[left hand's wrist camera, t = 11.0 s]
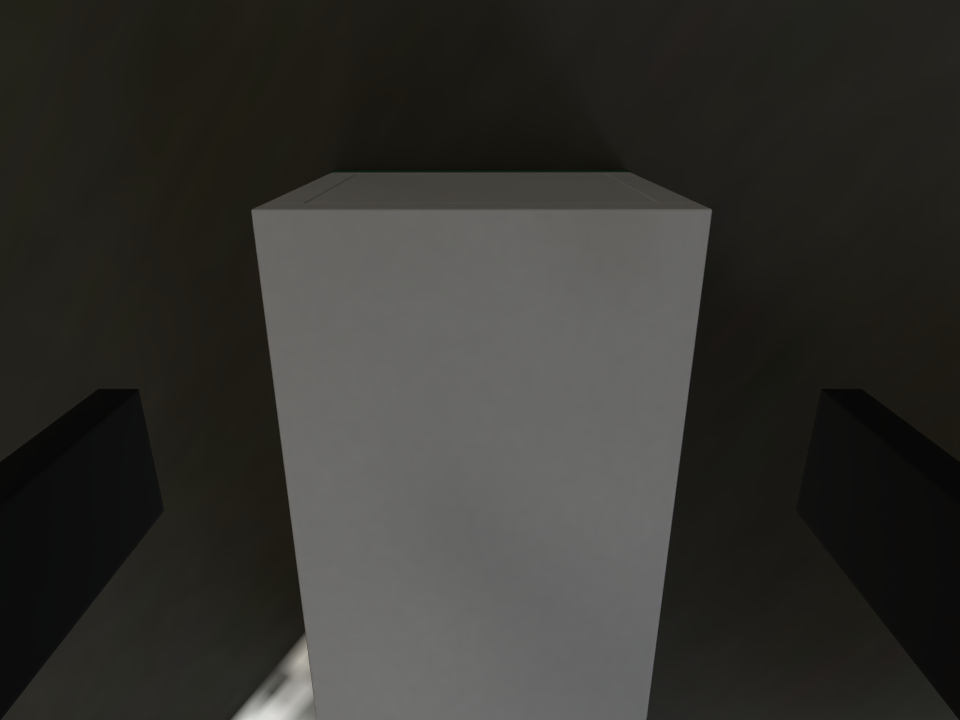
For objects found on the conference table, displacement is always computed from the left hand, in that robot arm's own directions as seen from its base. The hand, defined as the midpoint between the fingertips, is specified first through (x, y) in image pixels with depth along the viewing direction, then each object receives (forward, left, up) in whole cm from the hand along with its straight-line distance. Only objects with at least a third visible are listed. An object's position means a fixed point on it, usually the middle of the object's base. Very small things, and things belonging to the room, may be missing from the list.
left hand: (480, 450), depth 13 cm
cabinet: (+1, +5, -15) cm, 16 cm away
